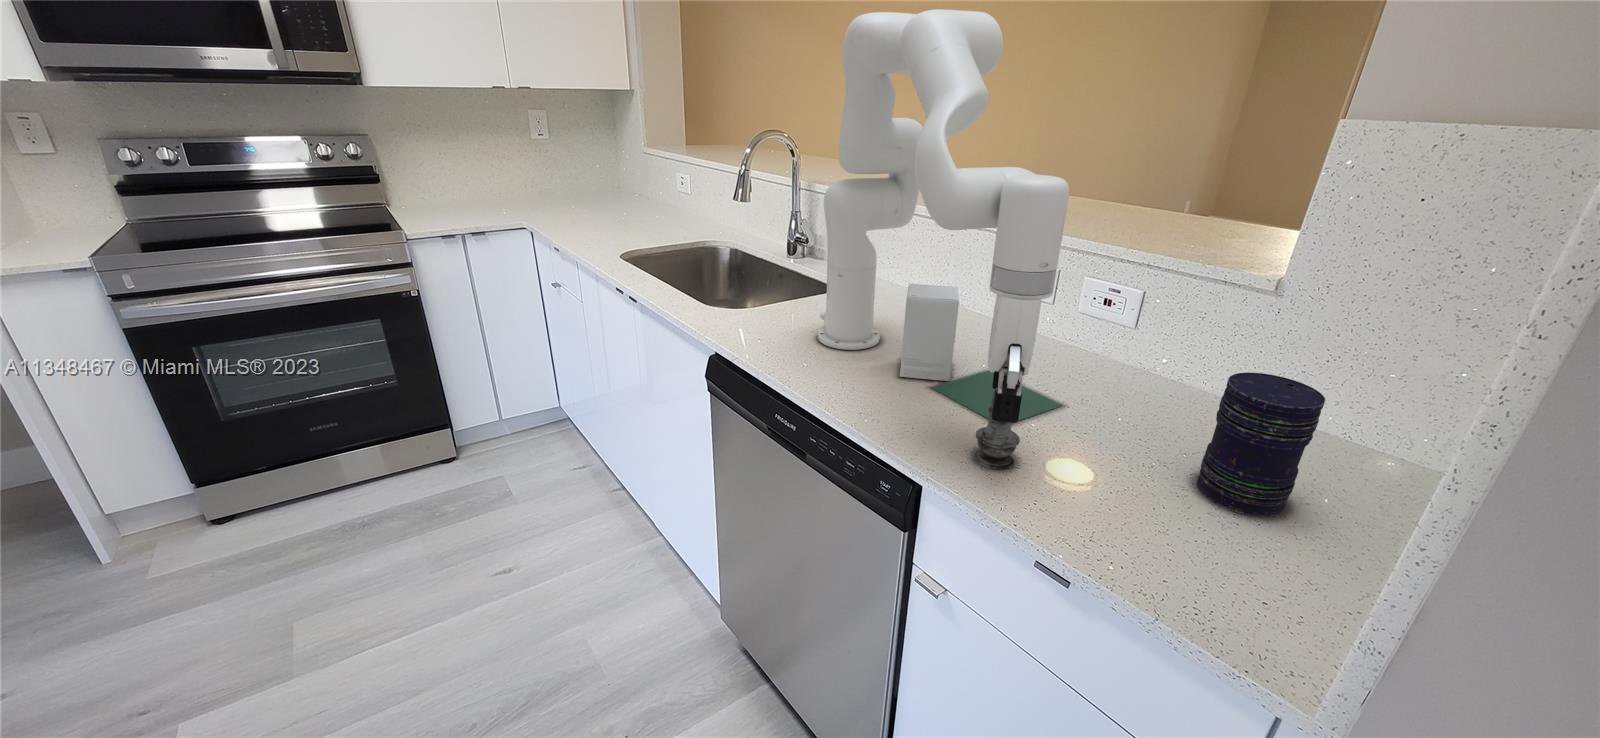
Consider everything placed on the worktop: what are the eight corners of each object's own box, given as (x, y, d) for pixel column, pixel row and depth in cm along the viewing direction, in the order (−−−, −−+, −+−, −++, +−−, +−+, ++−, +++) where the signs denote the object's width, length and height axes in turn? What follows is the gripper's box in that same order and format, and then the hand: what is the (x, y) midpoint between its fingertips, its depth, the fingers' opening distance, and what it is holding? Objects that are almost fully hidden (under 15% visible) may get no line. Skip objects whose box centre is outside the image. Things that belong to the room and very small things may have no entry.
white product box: (950, 382, 113) (960, 300, 107) (899, 377, 114) (905, 296, 108) (950, 363, 121) (958, 285, 115) (902, 359, 123) (908, 282, 117)
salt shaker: (993, 474, 86) (1005, 394, 82) (963, 454, 91) (973, 376, 86) (1025, 464, 89) (1039, 385, 84) (995, 444, 94) (1006, 369, 89)
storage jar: (1251, 525, 77) (1291, 414, 71) (1178, 482, 85) (1208, 379, 79) (1303, 506, 81) (1346, 399, 75) (1228, 466, 89) (1261, 367, 83)
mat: (930, 387, 111) (931, 387, 111) (989, 371, 118) (989, 370, 118) (1001, 427, 99) (1002, 426, 99) (1062, 405, 105) (1062, 405, 105)
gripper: (991, 261, 88) (977, 376, 95) (989, 296, 73) (973, 430, 80) (1049, 265, 86) (1030, 382, 93) (1060, 302, 71) (1037, 439, 78)
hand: (1004, 404), depth 86 cm, fingers open, 9 cm apart
